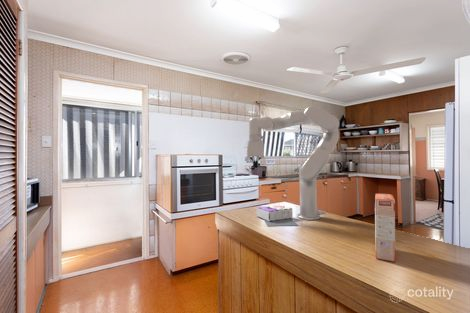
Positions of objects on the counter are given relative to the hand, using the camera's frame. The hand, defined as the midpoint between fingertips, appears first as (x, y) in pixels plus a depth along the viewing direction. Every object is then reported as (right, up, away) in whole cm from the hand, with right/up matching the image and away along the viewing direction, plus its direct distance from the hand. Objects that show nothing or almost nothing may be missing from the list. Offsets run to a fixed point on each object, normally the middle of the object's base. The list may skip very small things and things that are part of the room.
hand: (255, 167), depth 143 cm
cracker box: (+42, -28, -60) cm, 78 cm away
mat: (+12, -29, -12) cm, 34 cm away
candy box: (+3, -26, -11) cm, 28 cm away
